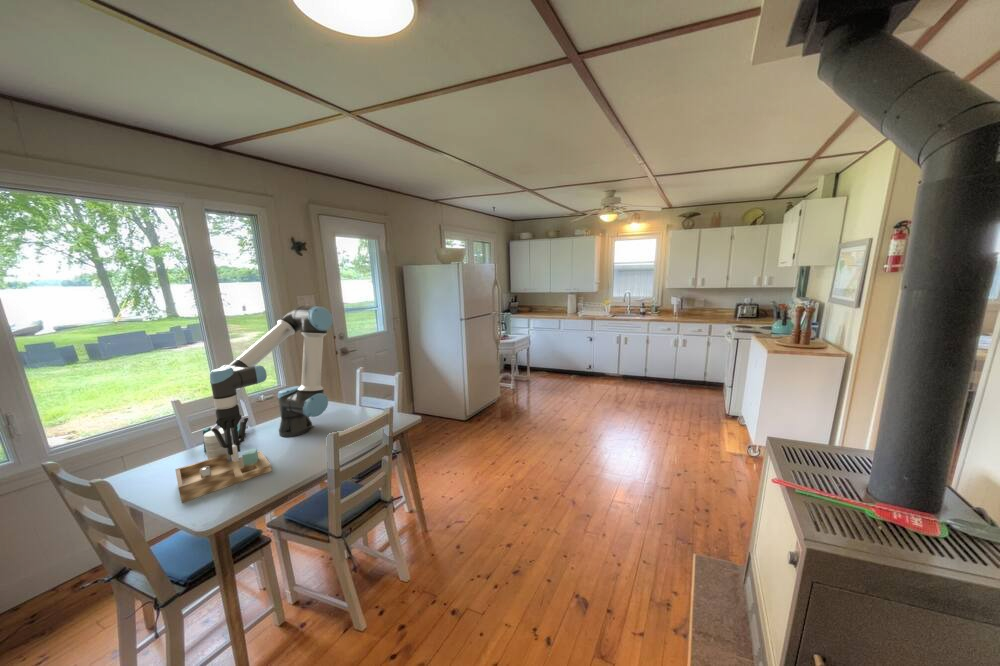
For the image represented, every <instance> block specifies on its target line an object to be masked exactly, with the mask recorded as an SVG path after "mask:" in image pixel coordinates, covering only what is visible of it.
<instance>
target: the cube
mask: <svg viewBox="0 0 1000 666" xmlns="http://www.w3.org/2000/svg"><path fill="white" fill-rule="evenodd" d="M257 452H258V448H257V447H256V448H252V449H251V448H250V449H248V450H244V451H243V453H242V456H241V457H242V458H243V463H244V466H245V465H249V464H254V463H257V461H258V453H257Z"/></svg>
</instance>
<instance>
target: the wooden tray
mask: <svg viewBox="0 0 1000 666" xmlns="http://www.w3.org/2000/svg"><path fill="white" fill-rule="evenodd" d="M257 453H258V461H257V463H254V464H249V465H245V466H244V463H243V458H242V456H241V457H239V461H237V462H234V461H232V460H231V461H228V460H227V455H226V454H224V455H221V456H217V457H214V458H211V459H208V458H207V459H205V460H202V461H197V462H195V463H191V464H188V465H185V466H182V467H181V466H180V467H178V468H175V475H176V482H177V487H178V492H179V497H180V502H181V503H185V502H188V501H190V500H193V499H196V498H199V497H202V496H204V495H208V494H210V493H214V492H216V491H218V490H222V489H225V488H226V487H230V486H232V485H233V486H234V485H236V484H239V483H241V482H244V481H246V480H250V479H252V478H255V477H258V476H260V475H264V474H267V473H269V472H271V471H272V465H271V463H270V462H269V460H268V459H267V458H266V456H265V455H264V453H263V452H262V451H261V450H259V451H257ZM206 466H210V470H211V476H208V477H205V478H201V474H200V469H201V468H203V467H206ZM181 503H180V504H181Z"/></svg>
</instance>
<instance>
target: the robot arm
mask: <svg viewBox="0 0 1000 666" xmlns="http://www.w3.org/2000/svg"><path fill="white" fill-rule="evenodd" d="M332 325H333V315H332V312H330V311H329V310H328V309H327V308H326V307H323V306H317V305H315V306H313V305H312V306H305V305H304V306H301V305H300V306H298V307H295V308H293V309H292V310H290V311H289V312H287V313H285V314H284V315H283V316H282V317H281V318H279V319H278V320H277V324H276V325H275V326H273V327H272V328H271V329H269V330H268V332H266V333H265V334H264V335H263V336H261V338H259V339H257V341H256V342H254V344H252V345H251V346H250V347H248V348H247V349H246V350H245V351H243V352H242V354H240V355H239V356H238V357H237V358H235V359H234V360H233V361H232V362H230V363H229V364H224V365H221V366H220V367H219V368H215V369H213V370H211V371H210V372H209V383H210V387H211V392H212V397H213V404H214V408H215V409H214V410H215V415H216V416H215V417H216V421H215V425H214V426H212V427H210V430H211V431H212V432H214V434H215V436H216V438H217V440H218V442H219V444H220V445H221V447H223V448H227V450H228V454H229V455H231V458H232V461H234V462H237V461H239V458H240V457H239V453H240V452H241V447H240V446H241V443H243V442H245V435H246V429H247V424H248V421H249V418H248V417H245V416H242V414H241V413H240V406H239V404H238V403H239V399H238V394H237V390H238V389H241V388H246V387H249V386H253V385H258V384H260V383H263V382H265V381H266V380H267V377H268V374H267V370H266V368H265V367H264V366H262V365H258V364H259V363H260V362H261V361H262V360H263V359H264V358H266V357H267V356H268V355H270V354H271V352H272V351H274V350H275V349H276V348H277V347H278V346H280V345H281V343H283V341H285V340H286V339H287V338H288V337H289V336H294V335H295V334H296V333H298V332H299V331H300V334H301V335H302V336H303V344H302V345H303V347H302V349H303V350H302V362H301V363H302V365H301V367H302V368H301V380H300V382H301V383H300V385H294V386H290V387H286V388H283V389H281V390H279V391H278V392H277V401H278V407H279V413H280V424H279V427H278V432H279V434H278V435H279V437H282V438H293V437H297V436H301V435H304V434H306V433H309V432H310V431H312V429H313V427H314V426H313V422H312V420H311V419H310V417H311V418H312V417H313V418H315V417H319V416H321V415H322V414H323V413H324V412H325V411H326V409H327V408H328V407H329V406H328V405H329V398H328V397H327V395H326V394H324V392H325V391H324V390H325V389H324V387H323V386H322V385H321V384H322V370H323V369H322V367H323V351H324V350H323V349H324V337H325V336H326V335H327V334H328V330H329V329H330V328H331V327H332ZM237 425H240V429H239V436H238V430H237V429H238V427H237ZM218 427H221V428H222V429H223V431H224V435H225V441H226V443H225V441H224V439H223V437H222V435H221V433H220V432H219V431H218V430H219V428H218ZM230 428H231V431H232V437H233V443H234V445H232V440H231V434H230Z"/></svg>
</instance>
